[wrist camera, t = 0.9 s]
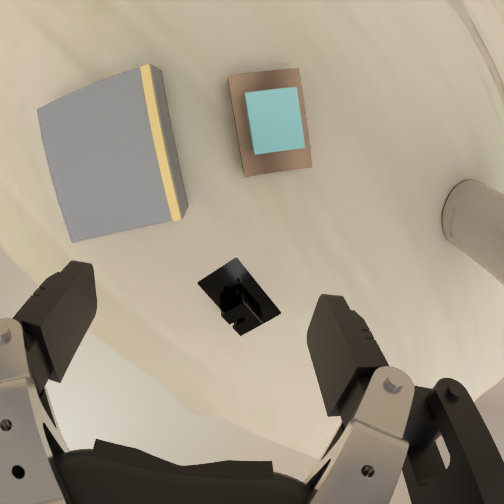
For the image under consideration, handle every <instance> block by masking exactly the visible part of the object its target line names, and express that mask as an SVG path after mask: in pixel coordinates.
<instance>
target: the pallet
mask: <svg viewBox="0 0 504 504" xmlns="http://www.w3.org/2000/svg"><path fill="white" fill-rule="evenodd" d="M228 84H229V90H230V96H231V102H232V108H233V113H234V119H235V125H236V131H237V137H238V143H239V149H240V155H241V160H242V166H243V172H244V175H245V177H248V176H254V175H260V174H266V173H273V172H280V171H287V170H294V169H301V168H309V167H312V162H311V153H310V144H309V136H308V128H307V121H306V113H305V106H304V99H303V93H302V86H301V80H300V74H299V68H296V69H283V70H273V71H263V72H255V73H247V74H240V75H234V76H228ZM290 87H297V93H298V99H299V106H300V113H301V120H302V128H303V135H304V143H305V148H301V149H293V150H285V151H278V152H271V153H264V154H257V155H255V154H254V153H253V151H252V145H251V138H250V132H249V126H248V120H247V114H246V108H245V102H244V96H243V95H244V93H247V92H254V91H262V90H271V89H280V88H290Z"/></svg>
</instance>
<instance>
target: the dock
mask: <svg viewBox="0 0 504 504" xmlns="http://www.w3.org/2000/svg"><path fill="white" fill-rule="evenodd" d="M37 113H38V119H39V125H40V130H41V135H42V140H43V145H44V149H45V154H46V158H47V162H48V166H49V170H50V174H51V178H52V182H53V185H54V189H55V192H56V196H57V199H58V202H59V206H60V209H61V212H62V215H63V218H64V221H65V224H66V227H67V230H68V233H69V235H70V238H71V241H72V243H75V242H79V241H83V240H87V239H91V238H95V237H100V236H104V235H108V234H113V233H117V232H121V231H126V230H130V229H135V228H140V227H144V226H149V225H154V224H159V223H163V222H168V221H178V220H182V219H183V217H184V215H185V212H186V210H187V208H188V202H187V197H186V193H185V188H184V184H183V179H182V175H181V170H180V166H179V161H178V156H177V151H176V147H175V142H174V137H173V132H172V127H171V122H170V116H169V111H168V106H167V100H166V95H165V89H164V83H163V77H162V71H161V70H160V69H158V68H156V67H155V66H153V65H152V64H147V65H144V66H141V67H140V68H137V69H133V70H130V71H127V72H124V73H121V74H118V75H115V76H113V77H110V78H107V79H104V80H102V81H99V82H96V83H94V84H91V85H89V86H86V87H84V88H82V89H79V90H77V91H75V92H72V93H70V94H68V95H66V96H63V97H61V98H59V99H57V100H55V101H53V102H51V103H49V104H47V105H45V106H43V107H41V108H39V109H37Z"/></svg>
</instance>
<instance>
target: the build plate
mask: <svg viewBox="0 0 504 504" xmlns="http://www.w3.org/2000/svg"><path fill="white" fill-rule="evenodd" d="M198 285H199V286H200V287H201V288H202V289H203V290H204V291H205V293H206V294H207V295H208V296H209V297H210V298H211V299H212V300H213V301H214V302H215V304H216V305H217V306H218V307H219V308H220V310H221V316H222V317H223V318H224V319H225V320H226V321H227V322H228V323H229V324H231V323H234V325H233V329H234V330H235V331H236V332H237V333H238V334H239V335H240V336H242V335H243V334H245V333H247V332H249V331H251V330H253V329H254V328H256V327H258V326H260V325H262V324H263V323H265V322H267V321H269V320H271V319H272V318H274V317H276V316H278V315H279V314H281V312H280V311H279V309H278V308H277V307H276V306H275V304H274V303H273V302H272V301H271V299H270V298H269V297H268V296H267V294H266V293H265V292H264V291H263V290H262V288H261V287H260V286H259V285H258V283H257V282H256V281H255V280H254V278H253V277H252V276H251V275H250V273H249V272H248V271H247V270H246V268H245V267H244V266H243V265H242V263H241V262H240V261H239V260H238V258H234V259H233V260H231V261H230V262H228V263H227V264H225V265H224V266H222V267H220V268H219V269H217V270H216V271H214V272H213V273H211V274H210V275H208V276H207V277H205V278H204V279H202V280H201V281H199V282H198Z"/></svg>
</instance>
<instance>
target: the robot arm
mask: <svg viewBox="0 0 504 504" xmlns="http://www.w3.org/2000/svg"><path fill="white" fill-rule="evenodd" d="M442 226H443V231H444V234H445V236H446V238H447V239H448V240H449V241H450V242H451V243H452V244H454V245H455V246H457V247H458V248H459V249H460V250H462V251H463V252H464V253H466V254H467V255H468V256H469V257H471V258H472V259H473V260H474V261H476V262H477V263H478V264H480V265H481V266H482V267H483V268H484V269H486V270H487V271H488V272H489V273H491V274H492V275H493V276H494V277H495V278H497V279H498V280H499V281H500V282H501V283H502V284H504V194H503V193H500V192H498V191H496V190H494V189H492V188H490V187H487V186H485V185H483V184H481V183H478V182H476V181H473V180H466V181H464V182H461V183H460V184H459V185H457V186H456V187H455V188H454V189H453V190H452V192H451V194H450V195H449V197H448V199H447V201H446V203H445V207H444V210H443V216H442ZM96 310H97V297H96V288H95V279H94V269H93V266H92V264H90V263H85V262H79V261H71V262H69V264H68V265H67V266H66V267H65V268H64V269H63V270H62V271H61V272H57V273H55V274H53V275H52V276H50V277H48V278H47V279H46V280H45V281H44V282H43V283H42V284H41V285H40V286H39V288H38V289H37V290H36V291H35V292H34V293H33V296H31V297H30V298H29V299H28V300H27V302H26V303H25V304H24V305H23V306H22V308H21V309H20V310H19V311H18V312H17V313H16V315H15V316H14V317H13V318H12V319H11V318H2V319H0V504H389V503H390V500H391V497H392V495H393V493H394V490H395V487H396V485H397V482H398V479H399V476H400V473H401V470H402V471H403V475H404V478H405V481H406V485H407V488H408V492H409V495H410V499H411V503H412V504H504V462H503V460H502V458H501V455H500V453H499V451H498V449H497V447H496V445H495V443H494V441H493V439H492V436H491V434H490V432H489V430H488V429H487V427H486V425H485V423H484V421H483V419H482V417H481V415H480V413H479V411H478V410H477V408H476V406H475V404H474V402H473V400H472V399H471V397H470V395H469V393H468V392H467V390H466V388H465V387H464V386H463V385H462V384H461V383H459V382H458V381H456V380H454V379H451V378H442V379H440V380H439V381H438V382H437V384H436V385H435V386H434V388H433V389H430V388H424V387H419V386H414V384H413V381H412V380H411V378H410V377H409V376H408V375H407V374H406V373H405V372H403V371H402V370H400V369H398V368H395V367H390V366H389V365H388V363H387V361H386V359H385V357H384V355H383V353H382V351H381V350H380V348H379V346H378V344H377V342H376V340H374V337H373V335H372V333H371V331H369V328H368V326H367V324H366V322H365V320H364V319H363V318H362V317H361V316H360V315H358V314H357V313H356V312H355V311H353V310H350V308H349V306H348V304H347V303H346V301H345V299H344V297H343V296H338V295H327V294H322V295H321V296H320V297H319V299H318V302H317V305H316V308H315V311H314V314H313V316H312V319H311V322H310V325H309V328H308V332H307V345H308V348H309V352H310V355H311V359H312V362H313V366H314V369H315V373H316V376H317V379H318V383H319V387H320V390H321V394H322V397H323V401H324V404H325V408H326V411H327V415H328V417H329V416H341V419H342V422H341V424H340V425H339V426H338V428H337V430H336V432H335V434H334V435H333V437H332V439H331V441H330V442H329V444H328V446H327V448H326V449H325V451H324V453H323V454H322V456H321V458H320V459H319V461H318V463H317V464H316V466H315V467H314V469H313V470H312V471H311V473H310V474H309V475H308V476H307V478H306V479H305V481H304V482H301V481H299V480H298V479H295V478H293V477H290V476H288V475H284V474H281V473H277V472H273V466H272V461H231V460H227V461H221V462H215V463H207V464H199V465H190V466H180V465H176V464H173V463H171V462H168V461H165V460H163V459H160V458H158V457H155V456H152V455H150V454H148V453H145V452H143V451H141V450H139V449H136V448H131V447H126V446H122V445H118V444H114V443H110V442H106V441H102V440H98V439H96V441H95V444H94V448H93V449H80V450H74V451H69V449H68V447H67V445H66V443H65V441H64V439H63V437H62V435H61V432H60V429H59V426H58V423H57V421H56V418H55V415H54V412H53V409H52V405H51V402H50V399H49V395H48V392H47V389H46V387H45V385H46V383H47V381H48V379H50V380H53V381H56V382H59V383H60V382H61V380H62V378H63V376H64V374H65V372H66V370H67V368H68V366H69V364H70V362H71V360H72V358H73V356H74V354H75V352H76V350H77V348H78V347H79V345H80V343H81V341H82V339H83V337H84V335H85V333H86V332H87V330H88V328H89V326H90V324H91V322H92V321H93V319H94V317H95V314H96ZM441 435H442V437H443V439H444V441H445V444H446V446H447V449H448V451H449V454H450V464H449V466H448V468H447V469H446V468H445V466H444V463H443V460H442V458H441V455H440V452H439V450H438V447H437V445H436V442H435V440H436V439H437V438H438V437H439V436H441Z"/></svg>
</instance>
